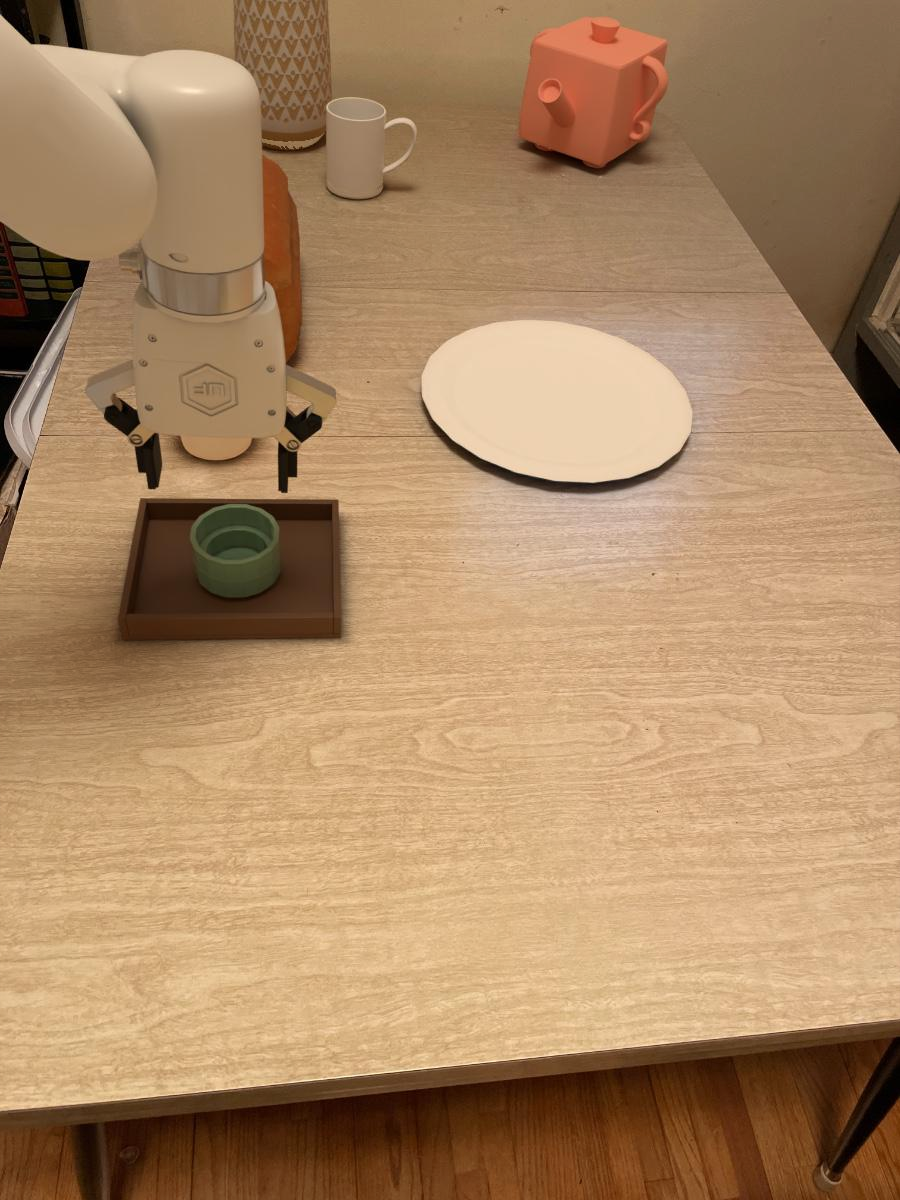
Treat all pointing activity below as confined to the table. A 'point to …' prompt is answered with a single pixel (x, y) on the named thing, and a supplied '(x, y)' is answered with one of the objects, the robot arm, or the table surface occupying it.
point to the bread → (282, 251)
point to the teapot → (592, 89)
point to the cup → (215, 446)
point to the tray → (189, 611)
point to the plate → (556, 401)
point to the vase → (286, 64)
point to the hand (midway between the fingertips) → (220, 479)
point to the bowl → (236, 550)
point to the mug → (359, 146)
